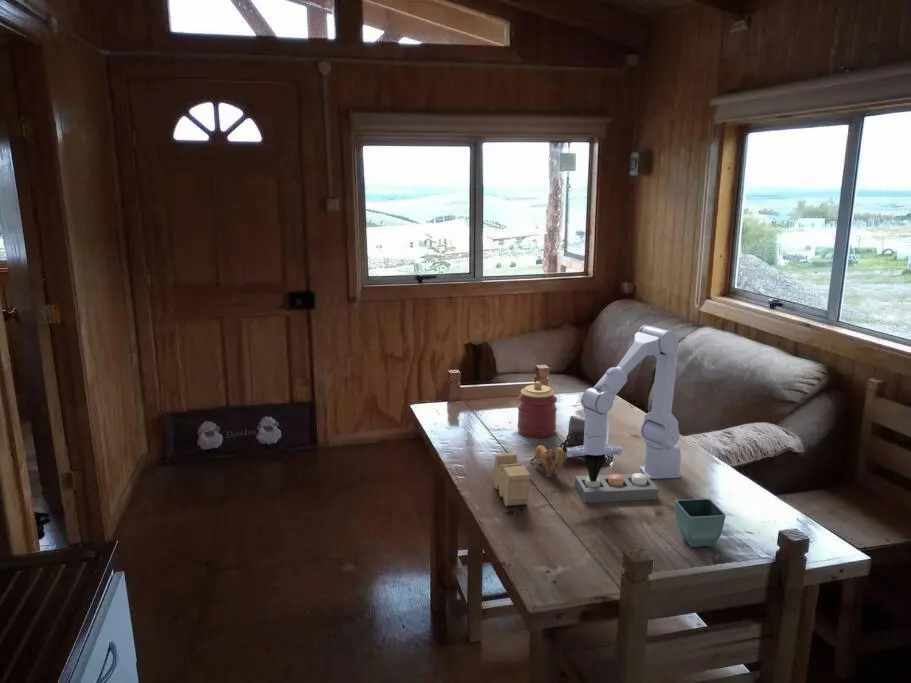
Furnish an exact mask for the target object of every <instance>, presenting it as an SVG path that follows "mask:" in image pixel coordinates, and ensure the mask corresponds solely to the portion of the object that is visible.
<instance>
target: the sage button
mask: <svg viewBox="0 0 911 683" xmlns="http://www.w3.org/2000/svg"><path fill="white" fill-rule="evenodd" d="M585 487H586V488H594V487H600V479H599V478H597V480H596V481H593V482H591V481H590V479H589V477H587V478H586V479H585Z"/></svg>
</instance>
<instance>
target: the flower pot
mask: <svg viewBox="0 0 911 683" xmlns="http://www.w3.org/2000/svg"><path fill="white" fill-rule="evenodd" d="M674 504H675V517H676V518H675V519H676V523H677V524H676V525H677V527H678V530H679V532H680V534H681V536H682V537H683V539H684V540H685V541H686V542H687V544H688V545H689V547H691V548H703V547H702V546H707V547H712V546H714V545H715V544H716V543H717V541H718V540H719V538H720V537H721V535H722V533H723V528H724V525H725V521H726V517H727V515H726V513H725V512H724V511H723V510H722V509H720V508H719V506H717V504H716V503H715V502H713V500H712V499H711V498H696V499H695V498H693V499H676V500H674Z"/></svg>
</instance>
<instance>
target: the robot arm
mask: <svg viewBox="0 0 911 683" xmlns="http://www.w3.org/2000/svg"><path fill="white" fill-rule="evenodd" d="M679 340H680V337H679V336H678V334H677V333H676V332H675V331H673V330H669V329H665V328H664V329H663V328H659V327H656V326H651V325H650V324H643V325H642V326H640V327H639V329H638V331H637V332H636V333H635V334H634V342H633V343H632V345H631V346H630V347H629V349H628V350H627V352H626V353H625V355H624V356H623V357H622V359H621V360H620V362H619V363H618V364H617V365H616V366H614V367H613V366H612V367H609V368H608V369H607V370H606V371H605V373H604V375H602V377H601V378H600V379H599V381H597V383H596V384H595V385H594V386H593V387H590V388H588V389H586V390H585V391H584V392H583V394H582V396H581V398H580V403H581V406H582V407H583V413H584V428H583V430H584V432H583V434H584V435H583V445H578V446H571V447H567V448H566V454H567V456H568V457H567V458H573V457H578V456H579V457H581V456H582V457H583V460H584V461H585V464H586V468H587V471H588V475H589V479H590V481H591V482H593V481H596V480H597V476H598V475H599V473H600V471H601V469H602V467H603V466H604V464H605V463H606V459H607V458H606V456H608V455H609V456H610V455H613V456H614V455H617V456H622V452H623V451H622V450H623V449H622V447H621V446H620V445H609V444H608V445H607V444H606V442H607V441H606V439H607V424H608V421H607V420H608V419H607V418H608V412H610V411H611V409H612V408H613V405H614V401H615V399H616V395H617V394H618V393H619V392H620V391H621V389H622V388H623V387H624V386H625V385H626V384H627V382H628V375H629V373H630V372H632V370H633V369H634V368H635V367H636V366H637V365H638V364H639V363H640V362H642V360H643V359H644V358H645V357H648V356H654V357H655V358H656V365H655V375H654V383H653V385H654V386H653V391H652V394H653V395H652V403H651V404H652V405H651V411H649V412H647V413H646V414H644V418H643V422H642V424H641V427H640V435H641V437H642V438H643V439H644V441H643V442H644V443H645V455H644V456H645V457H644V465H640V466H639V467H638V468H639V469H640V471H641V473H645V474H646V475H647V476H648V477H649V478H650V480H654V479H657V480H658V479H679V478H681V475H680V471H681V469H680V468H681V461H682V460H681V459H682V455H681V448H680V446H679V445H678V442H679V439H680V430H679V421H678V420H677V419H676V417H675V416H674V414H673V413H672V410H673V401H674V400H673V399H674V391H675V383H676V382H675V381H676V374H677V373H676V372H677V364H678V363H677V362H678V356H679V355H678V353H679V352H678V349H679Z"/></svg>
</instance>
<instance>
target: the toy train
mask: <svg viewBox="0 0 911 683" xmlns="http://www.w3.org/2000/svg"><path fill="white" fill-rule="evenodd" d="M517 462H518V456H517V454H516V452H508V453H496V454H495V460H494V466H493V467H494V469H493V471H492V477H493V479H494V487H495V489H496V490H498V493H499V496H500V498H502V499H503V504H504V506H506V507H510V506H511V507H512V506H521V505H527V504H528V502H529V501H528V500H529V497H530V495H529V494H530V481H531V474H530V472H529V471H528V470H527V469H528V468H526V467H525V465H522V464H521V463H517Z"/></svg>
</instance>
